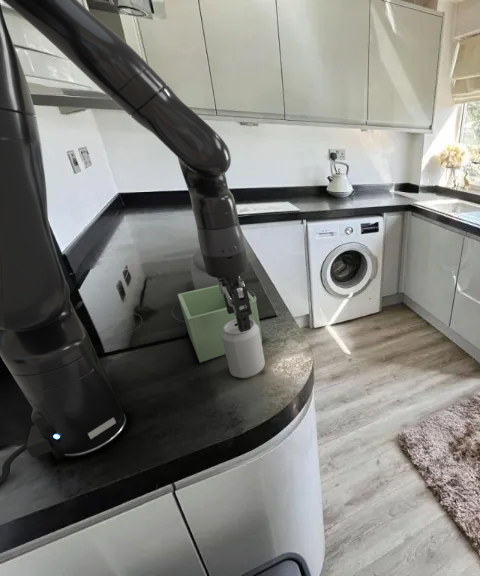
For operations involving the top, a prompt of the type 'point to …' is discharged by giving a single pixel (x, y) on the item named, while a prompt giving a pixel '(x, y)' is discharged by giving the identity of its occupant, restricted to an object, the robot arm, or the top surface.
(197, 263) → the alarm clock
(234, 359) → the can
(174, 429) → the top surface
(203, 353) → the bin
